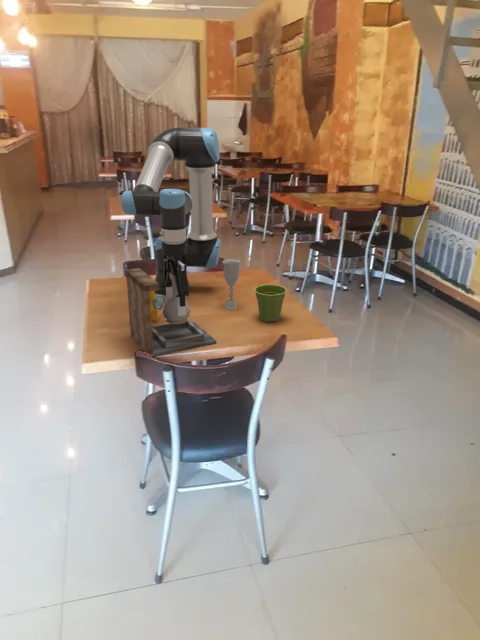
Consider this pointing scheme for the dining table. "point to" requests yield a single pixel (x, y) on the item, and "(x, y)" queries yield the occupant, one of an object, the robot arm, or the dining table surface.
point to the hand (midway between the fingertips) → (176, 310)
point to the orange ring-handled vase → (155, 305)
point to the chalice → (231, 279)
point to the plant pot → (270, 301)
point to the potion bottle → (174, 306)
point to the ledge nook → (158, 336)
